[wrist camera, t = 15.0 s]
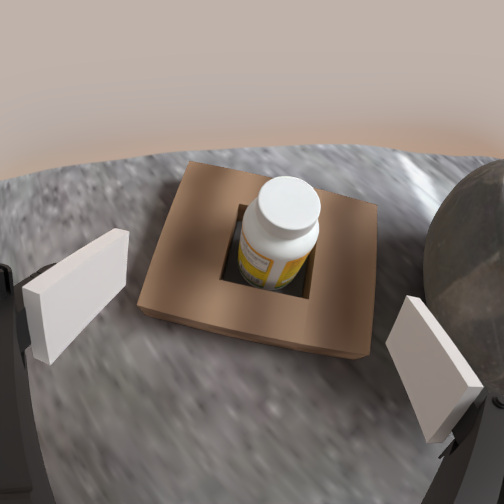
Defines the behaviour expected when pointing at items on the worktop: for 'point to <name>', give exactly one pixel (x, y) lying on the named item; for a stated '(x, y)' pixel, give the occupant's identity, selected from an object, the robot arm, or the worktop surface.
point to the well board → (249, 297)
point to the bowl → (470, 271)
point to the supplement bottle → (278, 232)
